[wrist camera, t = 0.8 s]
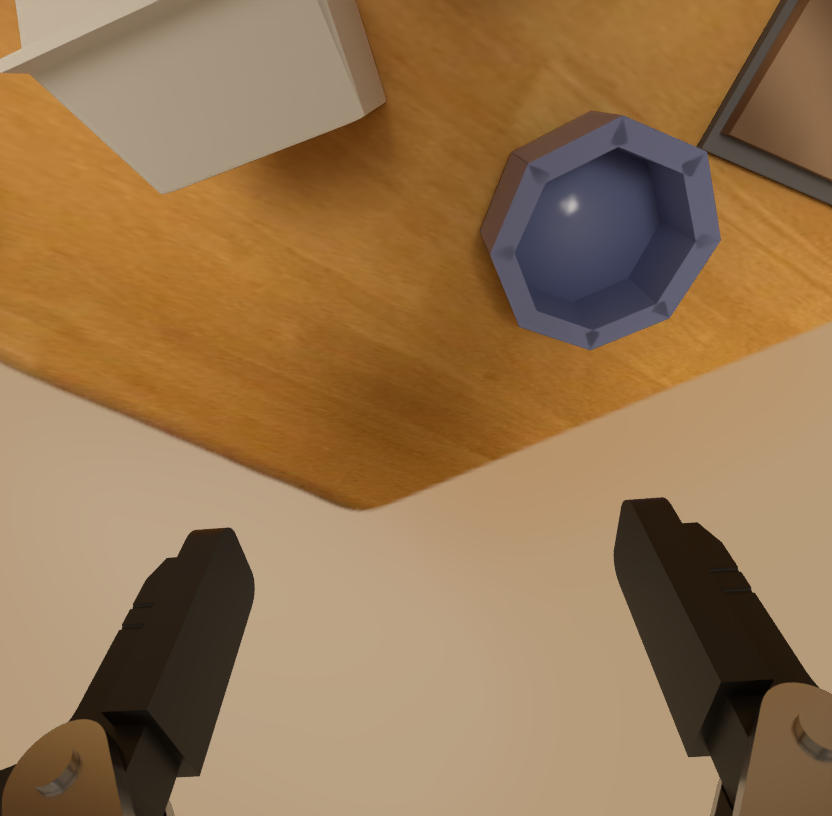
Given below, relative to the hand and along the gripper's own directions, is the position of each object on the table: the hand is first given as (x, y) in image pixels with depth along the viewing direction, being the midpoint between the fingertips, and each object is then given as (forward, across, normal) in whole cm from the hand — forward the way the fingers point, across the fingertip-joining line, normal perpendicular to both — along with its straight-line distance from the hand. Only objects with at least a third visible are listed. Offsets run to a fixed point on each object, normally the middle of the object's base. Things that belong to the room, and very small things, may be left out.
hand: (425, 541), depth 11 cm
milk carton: (+26, +5, -10) cm, 28 cm away
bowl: (+25, -10, +1) cm, 27 cm away
